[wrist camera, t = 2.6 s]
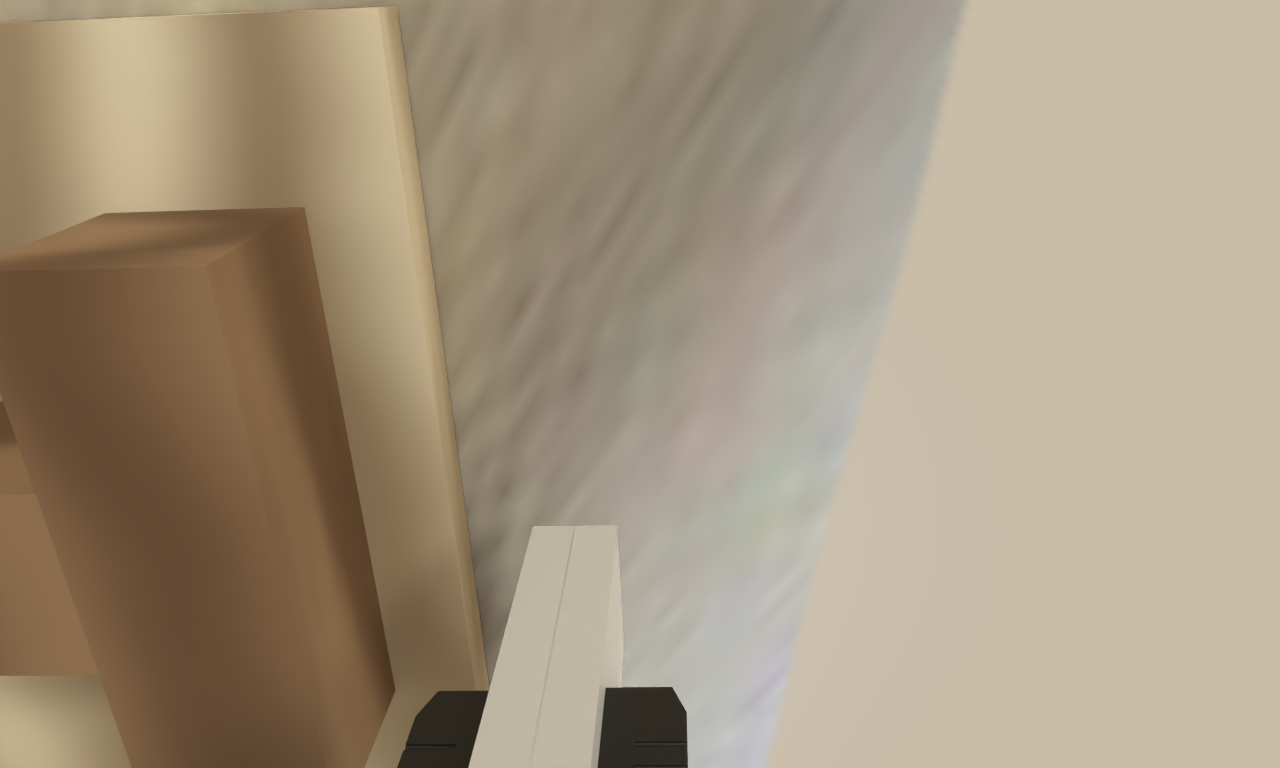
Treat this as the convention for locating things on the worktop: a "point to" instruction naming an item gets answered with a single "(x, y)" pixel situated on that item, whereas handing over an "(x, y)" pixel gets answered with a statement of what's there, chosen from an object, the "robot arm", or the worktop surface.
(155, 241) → the t block
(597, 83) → the worktop surface
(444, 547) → the board
